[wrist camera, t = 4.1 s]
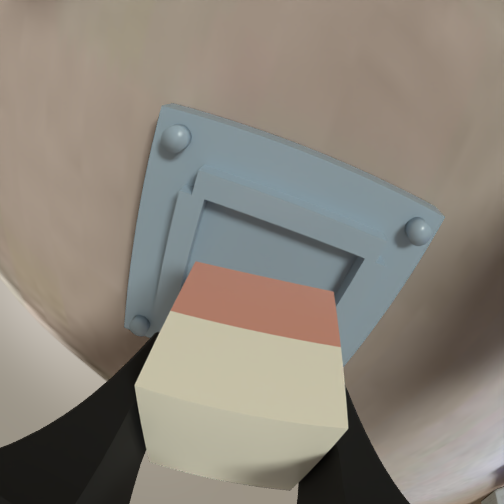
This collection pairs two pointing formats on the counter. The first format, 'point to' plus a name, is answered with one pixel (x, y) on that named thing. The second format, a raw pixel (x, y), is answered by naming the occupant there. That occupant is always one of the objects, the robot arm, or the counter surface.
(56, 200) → the counter surface
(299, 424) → the cream and red block
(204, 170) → the base plate
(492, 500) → the skincare box
